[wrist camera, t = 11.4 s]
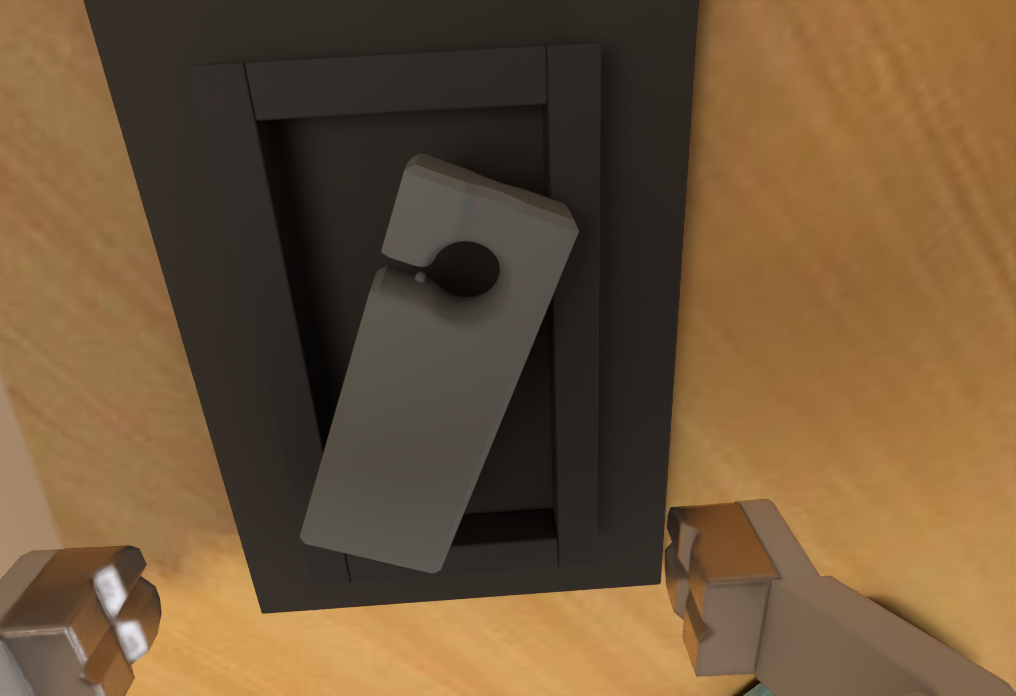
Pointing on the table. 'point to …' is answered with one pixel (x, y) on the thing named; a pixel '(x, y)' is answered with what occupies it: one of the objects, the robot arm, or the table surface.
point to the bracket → (434, 366)
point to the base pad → (457, 267)
